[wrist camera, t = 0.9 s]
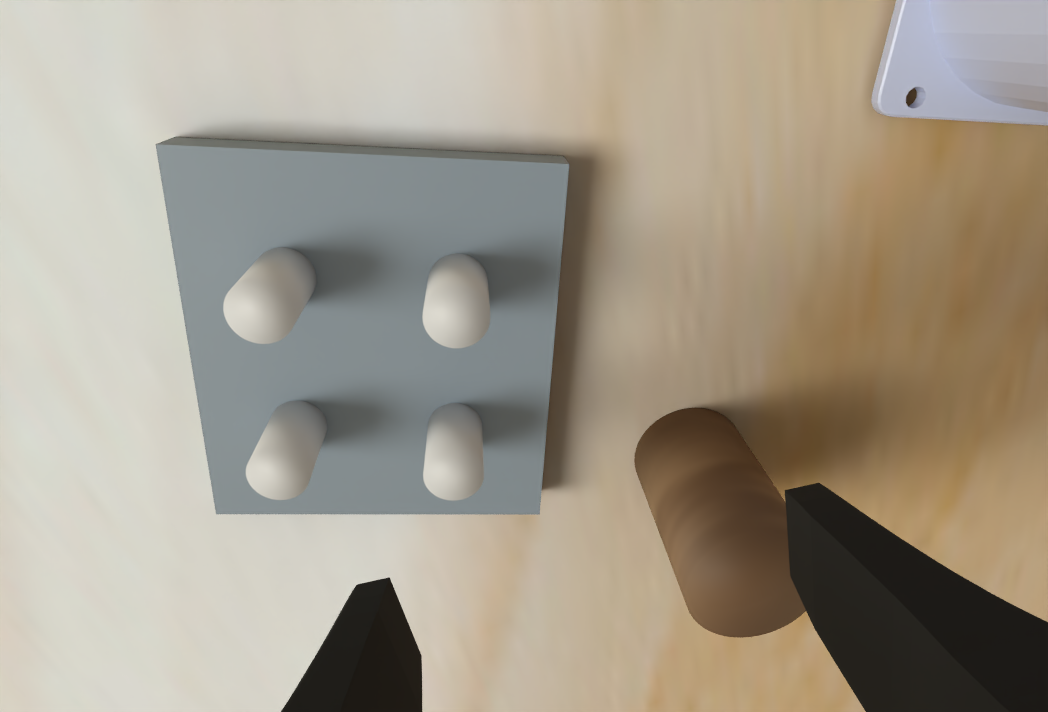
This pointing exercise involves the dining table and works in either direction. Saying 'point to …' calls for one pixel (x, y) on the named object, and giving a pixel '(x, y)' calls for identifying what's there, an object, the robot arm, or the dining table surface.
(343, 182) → the peg pad
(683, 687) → the dining table surface
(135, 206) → the dining table surface
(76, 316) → the dining table surface
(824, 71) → the dining table surface
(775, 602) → the walnut pin
